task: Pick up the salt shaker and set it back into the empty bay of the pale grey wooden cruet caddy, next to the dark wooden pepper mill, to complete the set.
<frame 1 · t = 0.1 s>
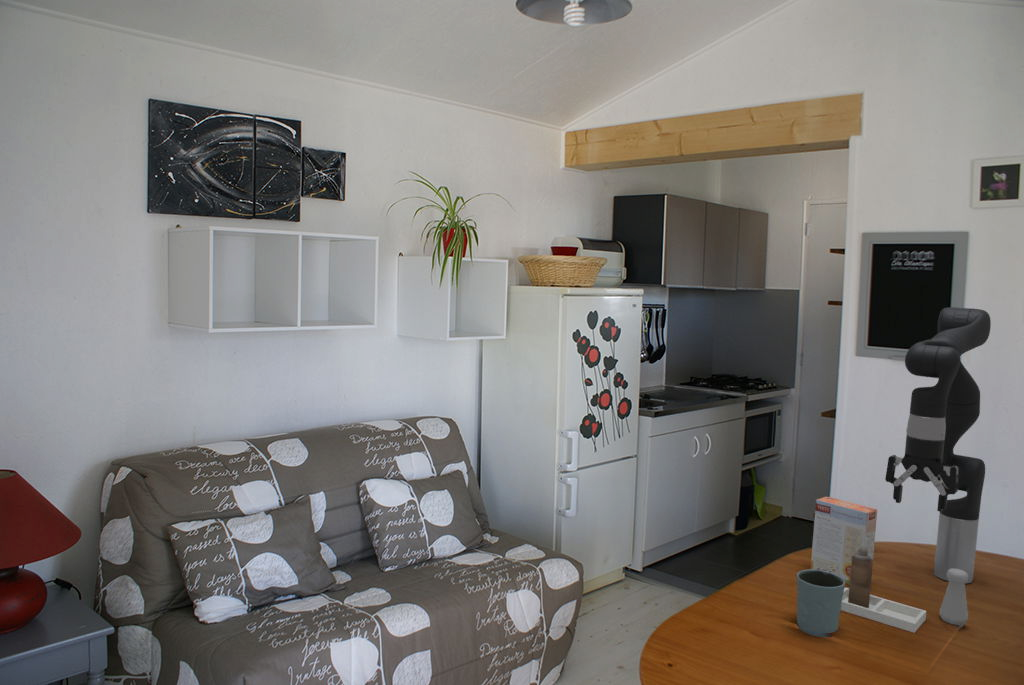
hand: (918, 506, 177), 29 cm above the table, fingers open, 8 cm apart
pepper mill: (858, 607, 189), resting on caddy
blue-grey cup: (816, 629, 179), on the table
cracker box: (839, 581, 208), on the table
salt shaker: (952, 625, 184), on the table
caddy: (877, 617, 187), on the table
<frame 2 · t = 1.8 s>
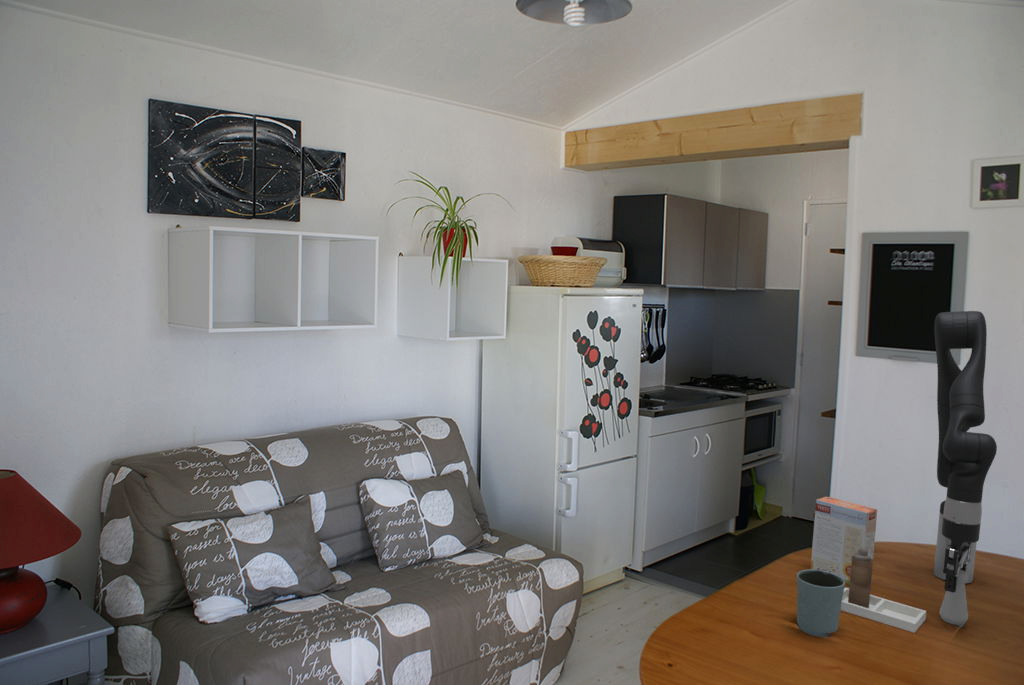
hand: (954, 586, 183), 9 cm above the table, fingers open, 8 cm apart
nothing on the table moved.
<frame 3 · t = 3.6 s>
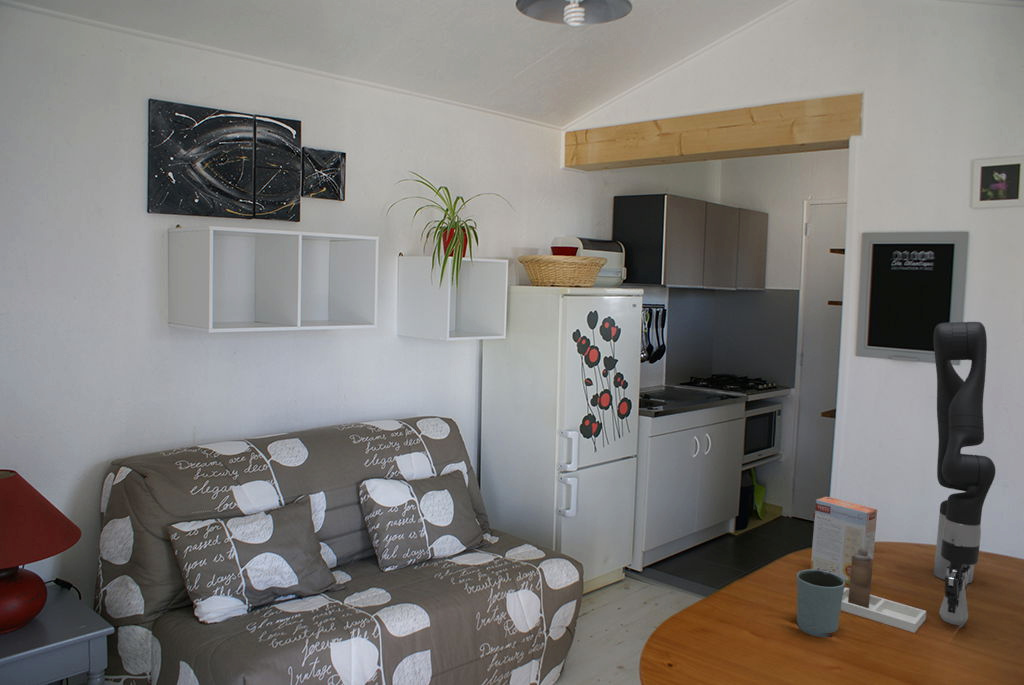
hand: (953, 611, 184), 3 cm above the table, fingers closed on salt shaker, 3 cm apart
salt shaker: (952, 625, 184), on the table, touching gripper
everything else where it was.
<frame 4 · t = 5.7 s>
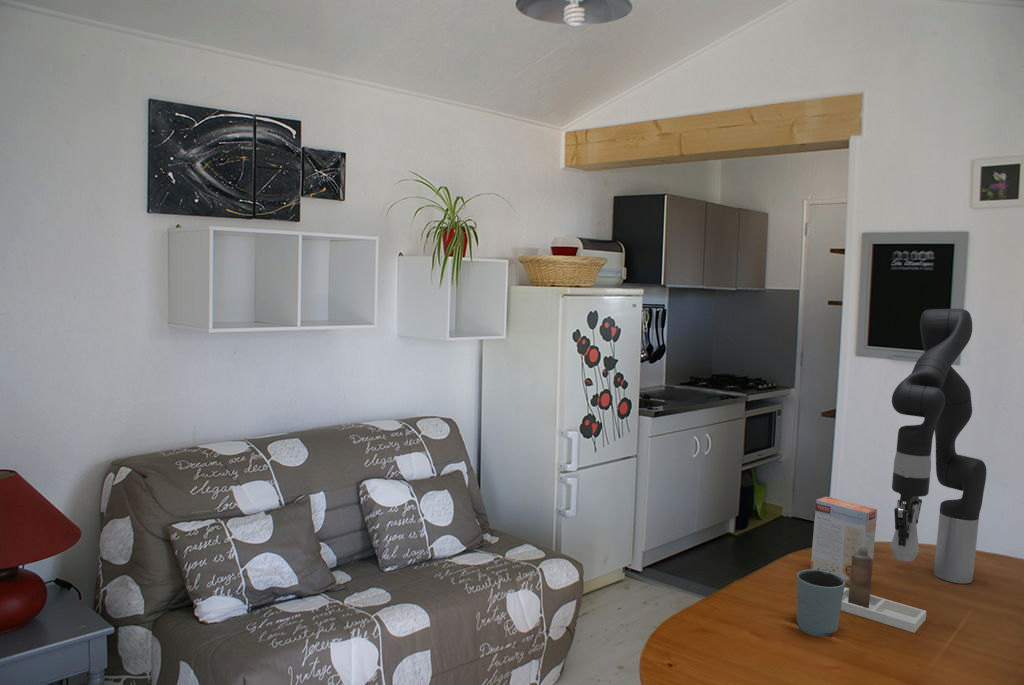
hand: (904, 545, 182), 19 cm above the table, fingers closed on salt shaker, 3 cm apart
salt shaker: (903, 559, 182), point 15 cm above the table, touching gripper
everything else where it was.
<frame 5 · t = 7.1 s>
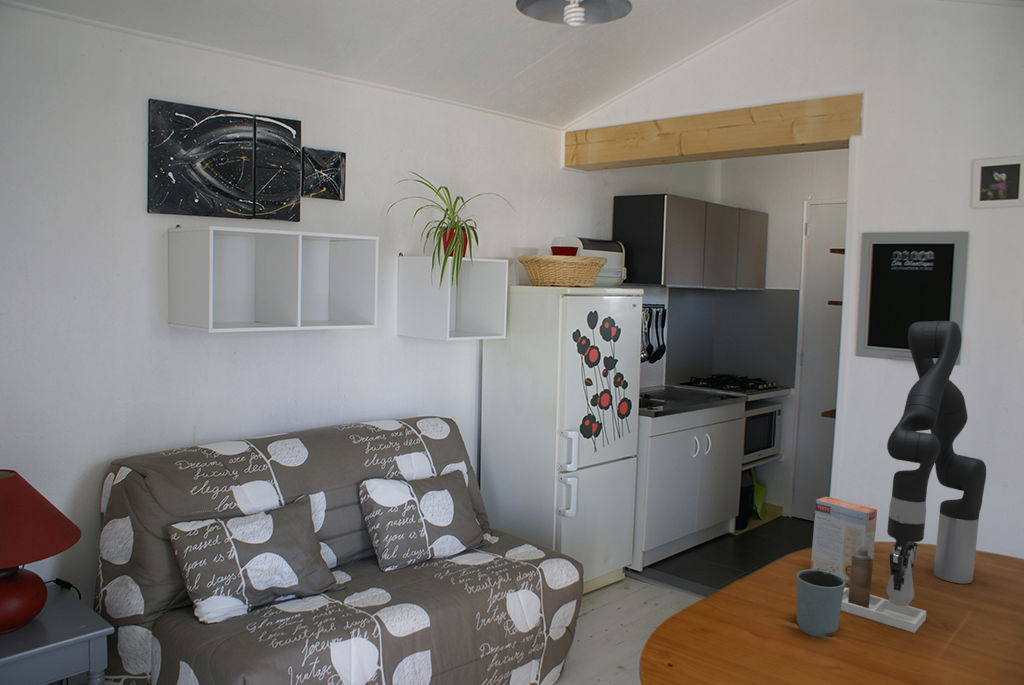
hand: (900, 589, 183), 8 cm above the table, fingers closed on salt shaker, 3 cm apart
salt shaker: (898, 603, 183), point 5 cm above the table, touching gripper
everything else where it was.
when the fingers open (6 cm above the table, at t = 8.2 s): salt shaker drops 1 cm, resting on caddy.
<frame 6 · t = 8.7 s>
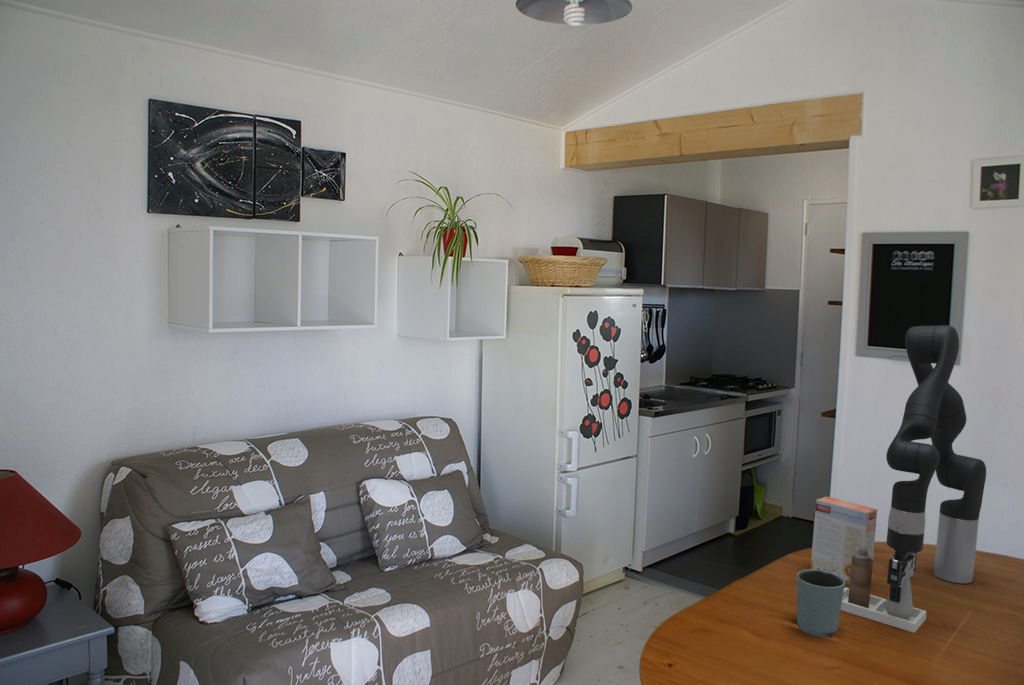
hand: (899, 596, 183), 6 cm above the table, fingers open, 7 cm apart
salt shaker: (897, 619, 184), point 1 cm above the table, touching caddy
everything else where it was.
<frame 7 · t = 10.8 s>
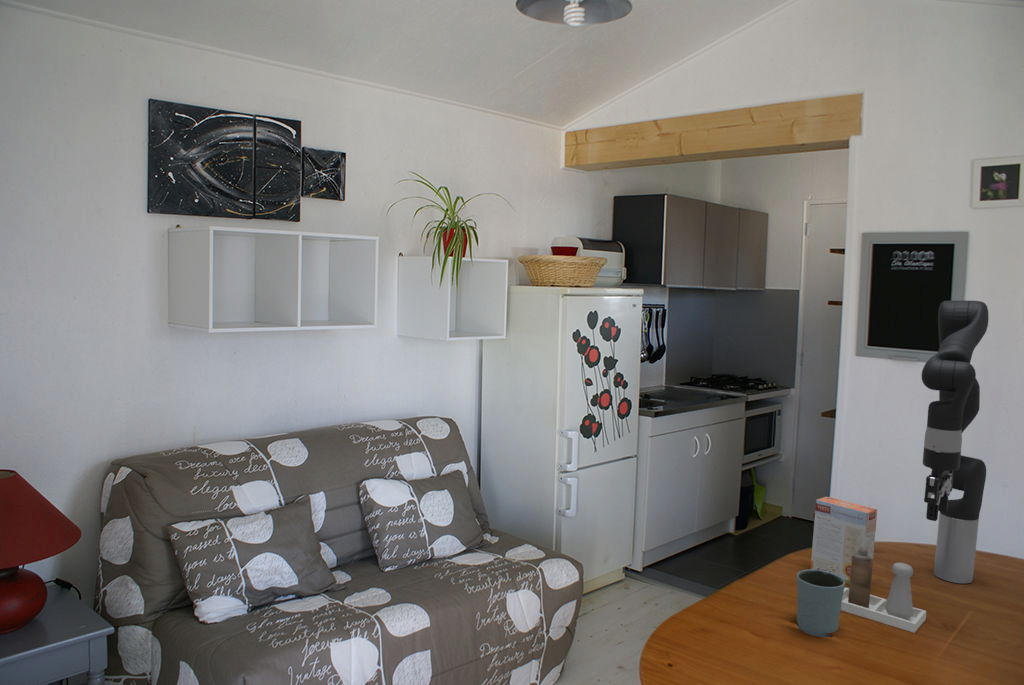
hand: (936, 515, 183), 25 cm above the table, fingers open, 8 cm apart
nothing on the table moved.
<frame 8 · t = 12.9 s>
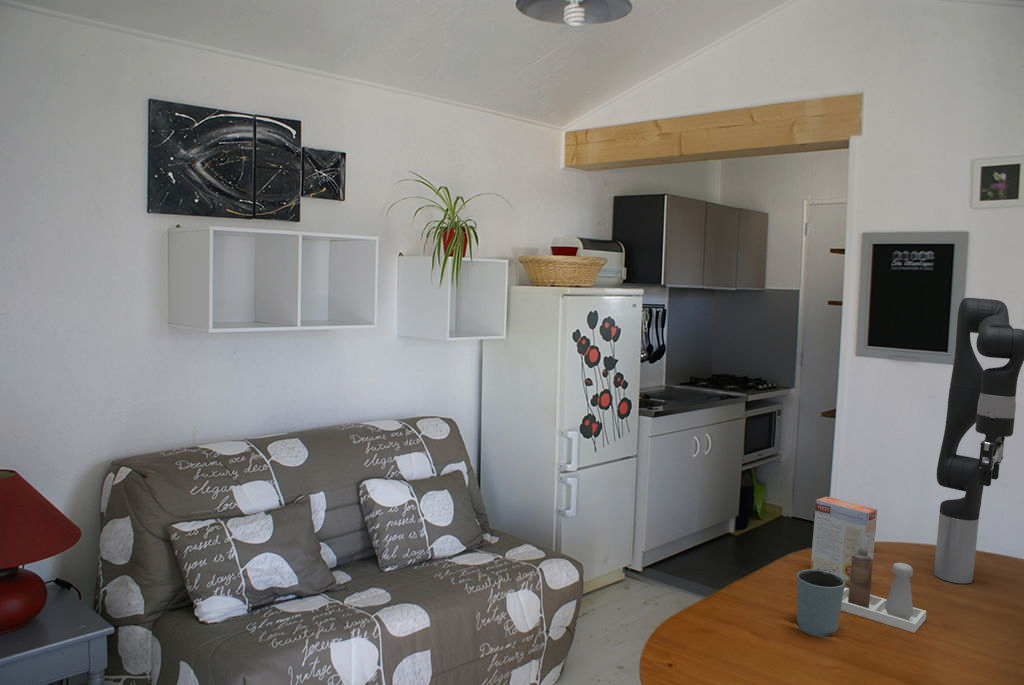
hand: (988, 482, 185), 33 cm above the table, fingers open, 8 cm apart
nothing on the table moved.
at the end: salt shaker 0.2 cm from the target spot on the caddy, point 0.8 cm above the caddy's base; salt shaker tilted 0°; the gripper is holding nothing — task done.
